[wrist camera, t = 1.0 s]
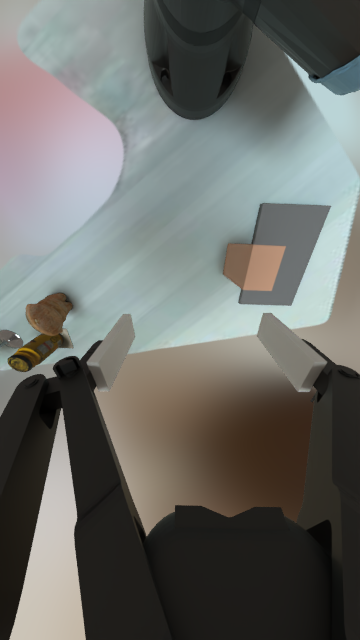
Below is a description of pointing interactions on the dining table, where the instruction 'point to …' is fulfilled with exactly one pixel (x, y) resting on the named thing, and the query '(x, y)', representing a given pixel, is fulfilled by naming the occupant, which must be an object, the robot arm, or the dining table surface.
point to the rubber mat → (299, 238)
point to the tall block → (253, 265)
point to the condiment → (38, 350)
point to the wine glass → (10, 339)
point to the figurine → (49, 314)
